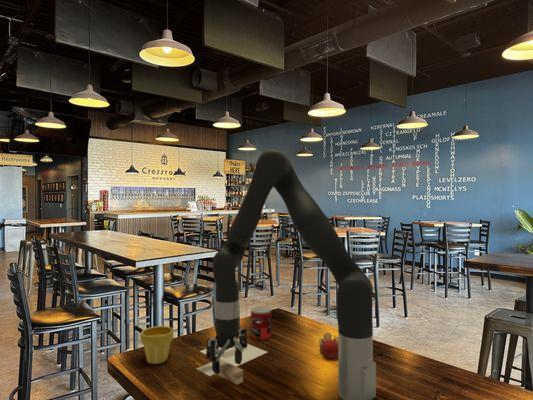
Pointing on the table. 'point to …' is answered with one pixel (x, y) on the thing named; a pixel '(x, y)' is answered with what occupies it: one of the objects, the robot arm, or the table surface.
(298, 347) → the table surface
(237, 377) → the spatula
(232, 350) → the tile
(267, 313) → the canned food
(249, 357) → the mat
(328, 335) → the kendama
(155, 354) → the plant pot
